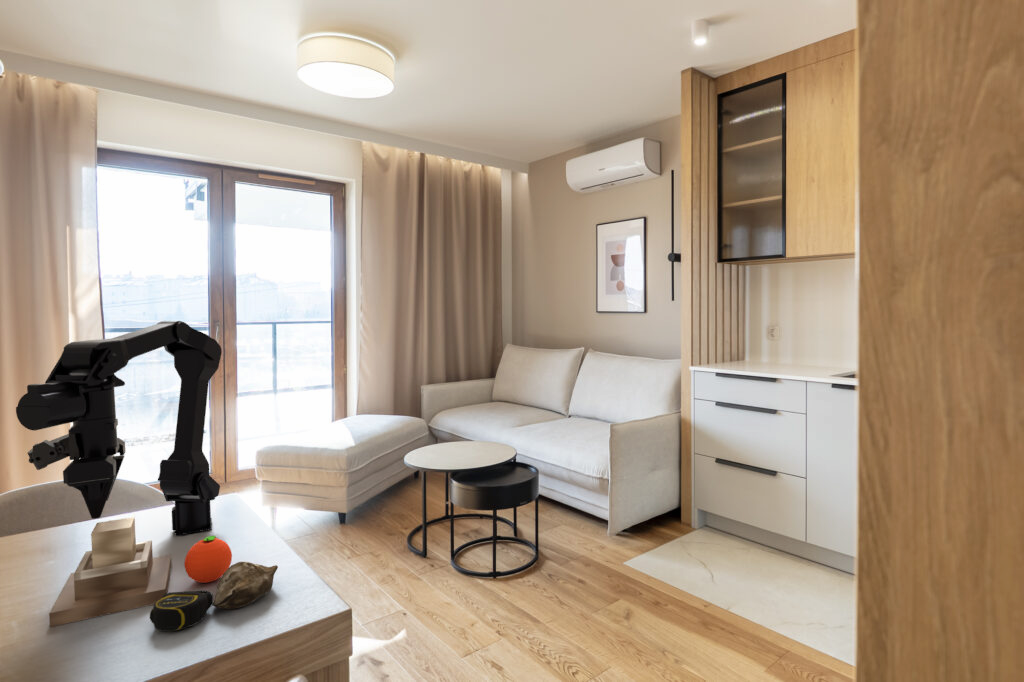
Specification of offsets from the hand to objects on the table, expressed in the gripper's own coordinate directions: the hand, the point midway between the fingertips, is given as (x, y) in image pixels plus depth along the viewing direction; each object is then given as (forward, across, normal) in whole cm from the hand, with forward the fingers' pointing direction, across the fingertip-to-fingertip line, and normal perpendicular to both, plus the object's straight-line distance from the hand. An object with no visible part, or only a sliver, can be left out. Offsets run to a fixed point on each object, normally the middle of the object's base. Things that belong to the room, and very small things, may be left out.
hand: (100, 509), depth 93 cm
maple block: (+7, +8, +2) cm, 10 cm away
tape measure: (+12, +22, +11) cm, 28 cm away
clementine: (+12, +10, +15) cm, 22 cm away
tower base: (+12, +8, +2) cm, 14 cm away
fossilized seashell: (+12, +20, +20) cm, 31 cm away
